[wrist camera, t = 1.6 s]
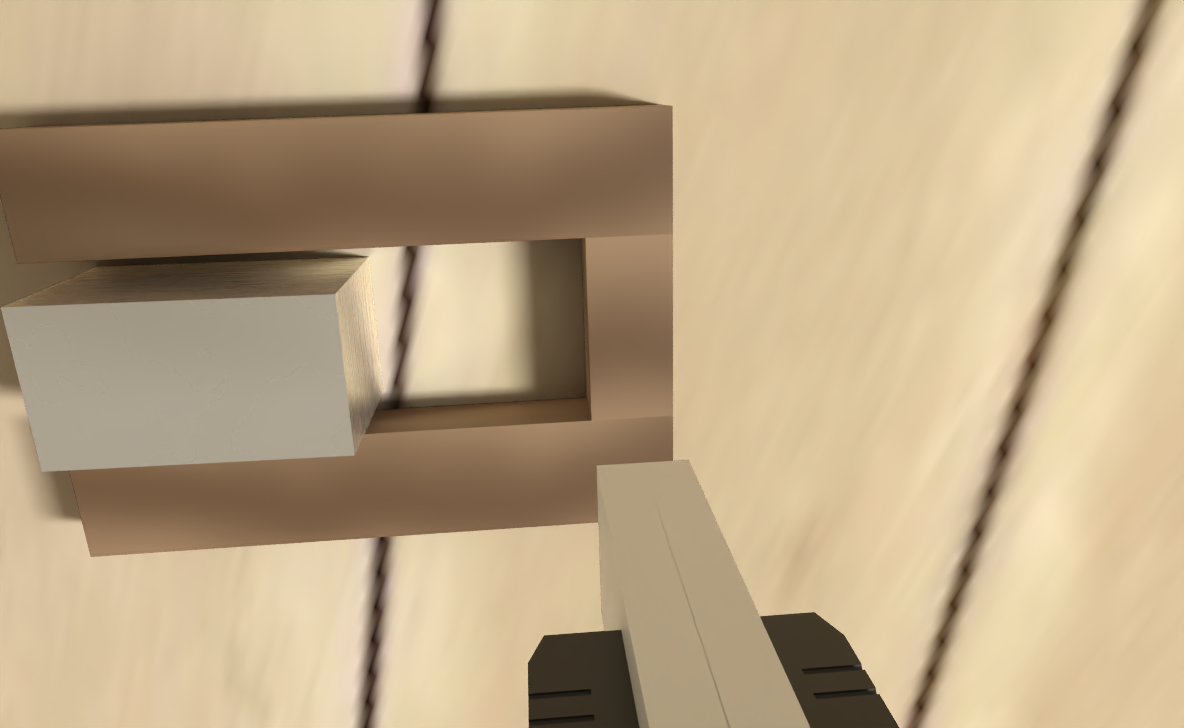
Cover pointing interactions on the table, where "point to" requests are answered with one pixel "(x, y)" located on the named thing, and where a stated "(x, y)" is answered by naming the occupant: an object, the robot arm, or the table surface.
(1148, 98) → the table surface
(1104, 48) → the table surface
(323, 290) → the aluminium block
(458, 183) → the slot board
